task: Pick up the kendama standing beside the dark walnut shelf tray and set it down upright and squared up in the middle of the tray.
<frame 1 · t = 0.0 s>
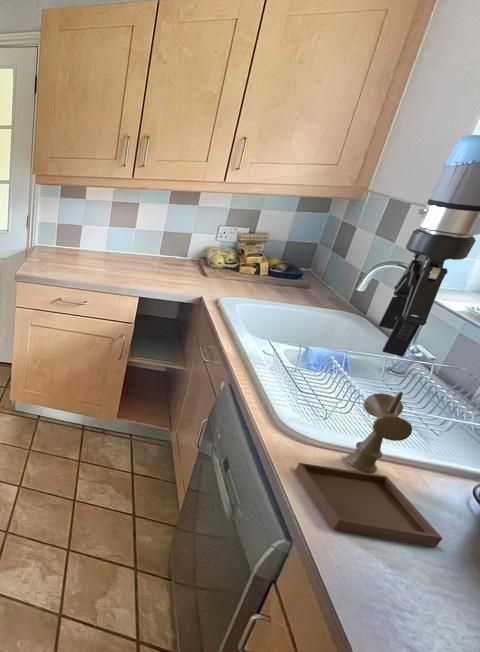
hand: (389, 340, 80), 31 cm above the worktop, tool pointing down, fingers open, 13 cm apart
shelf tray: (358, 505, 82), on the worktop
kendama: (359, 466, 91), on the worktop
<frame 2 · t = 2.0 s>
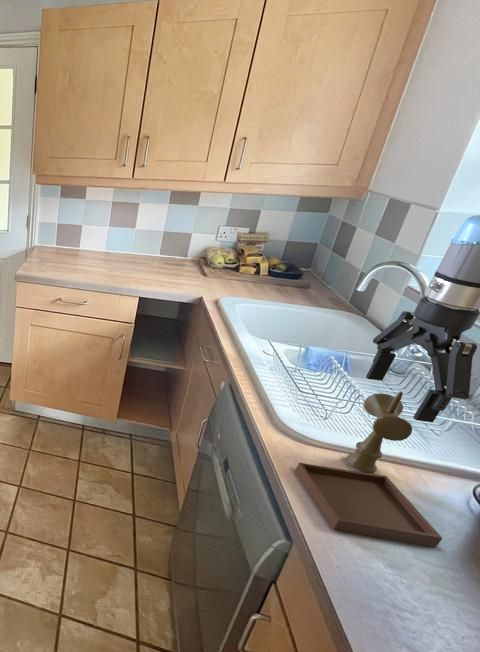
hand: (396, 398, 84), 18 cm above the worktop, tool pointing down, fingers open, 13 cm apart
nothing on the worktop moved.
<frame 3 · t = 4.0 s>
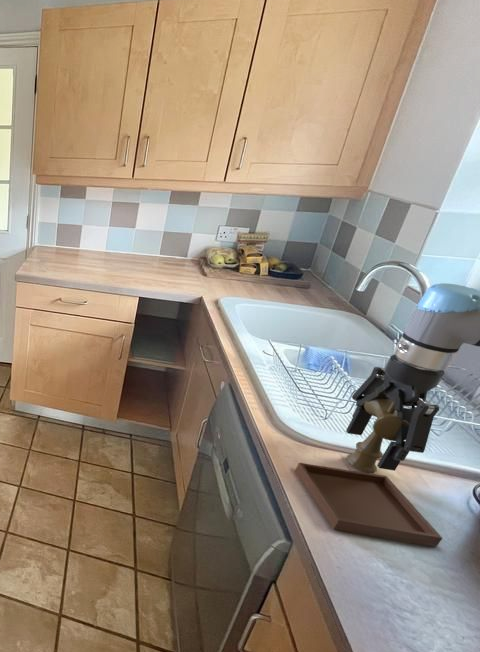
hand: (368, 449, 89), 5 cm above the worktop, tool pointing down, fingers closed on kendama, 10 cm apart
kendama: (359, 466, 91), on the worktop, touching gripper
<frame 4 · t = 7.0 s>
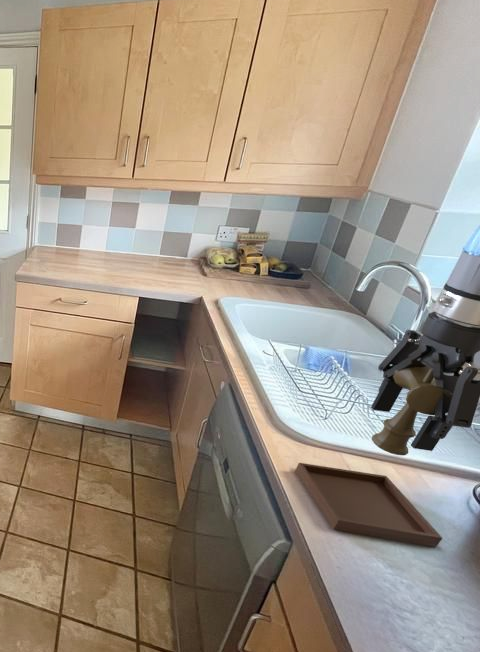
hand: (399, 427, 76), 18 cm above the worktop, tool pointing down, fingers closed on kendama, 10 cm apart
kendama: (387, 448, 78), point 13 cm above the worktop, touching gripper
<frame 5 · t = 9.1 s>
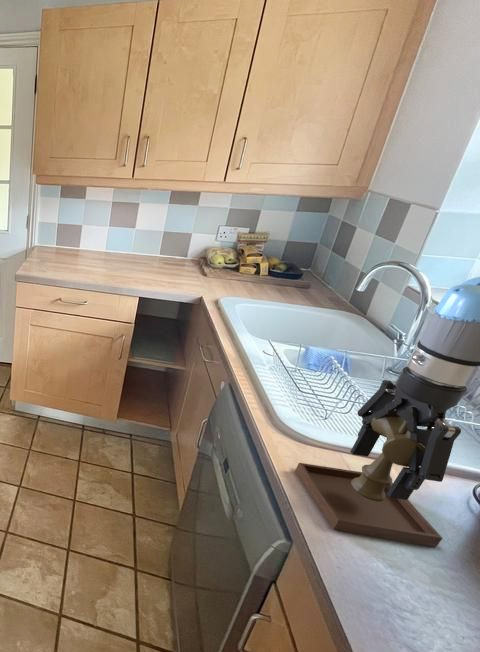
hand: (376, 474, 78), 8 cm above the worktop, tool pointing down, fingers closed on kendama, 10 cm apart
kendama: (365, 492, 80), point 4 cm above the worktop, touching gripper
when the fingers open (6 cm above the worktop, at t = 10.4 s): kendama stays where it is, resting on shelf tray.
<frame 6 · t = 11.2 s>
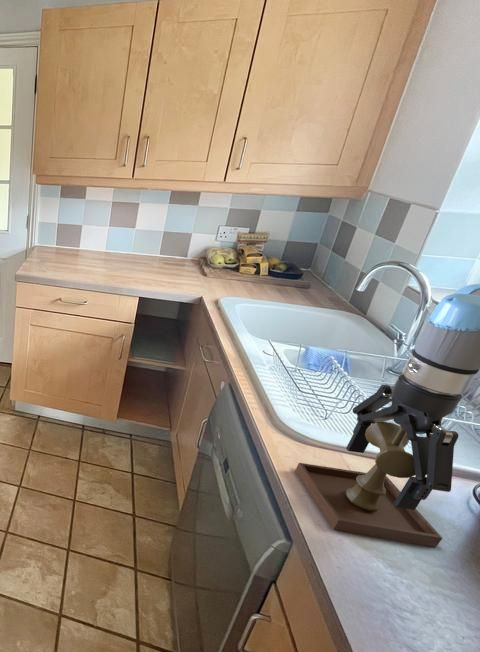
hand: (377, 476, 78), 8 cm above the worktop, tool pointing down, fingers open, 13 cm apart
kendama: (360, 502, 81), point 1 cm above the worktop, touching shelf tray
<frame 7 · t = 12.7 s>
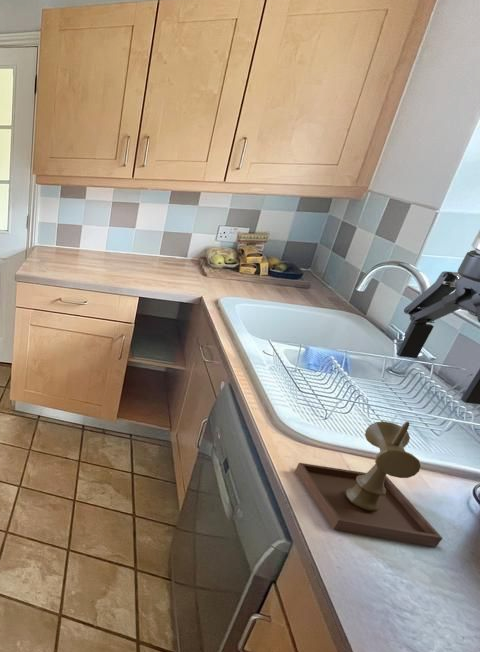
hand: (436, 377, 69), 30 cm above the worktop, tool pointing down, fingers open, 13 cm apart
nothing on the worktop moved.
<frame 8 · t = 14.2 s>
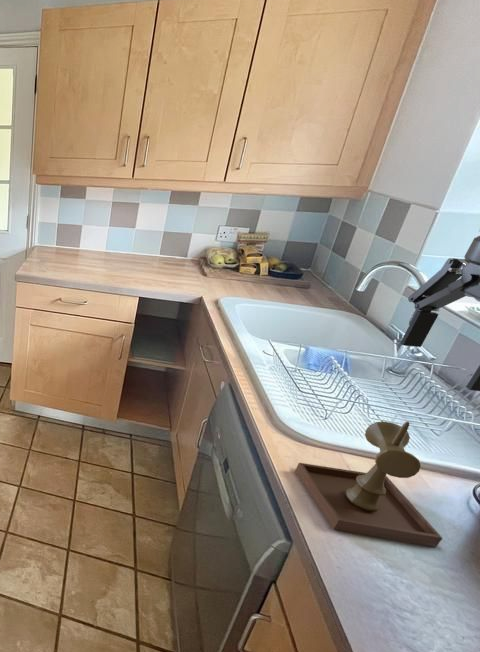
hand: (441, 365, 68), 33 cm above the worktop, tool pointing down, fingers open, 13 cm apart
nothing on the worktop moved.
at the end: kendama 0.0 cm off-centre in the shelf tray, point 0.8 cm above the shelf tray's base; kendama tilted 0°; the gripper is holding nothing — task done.
